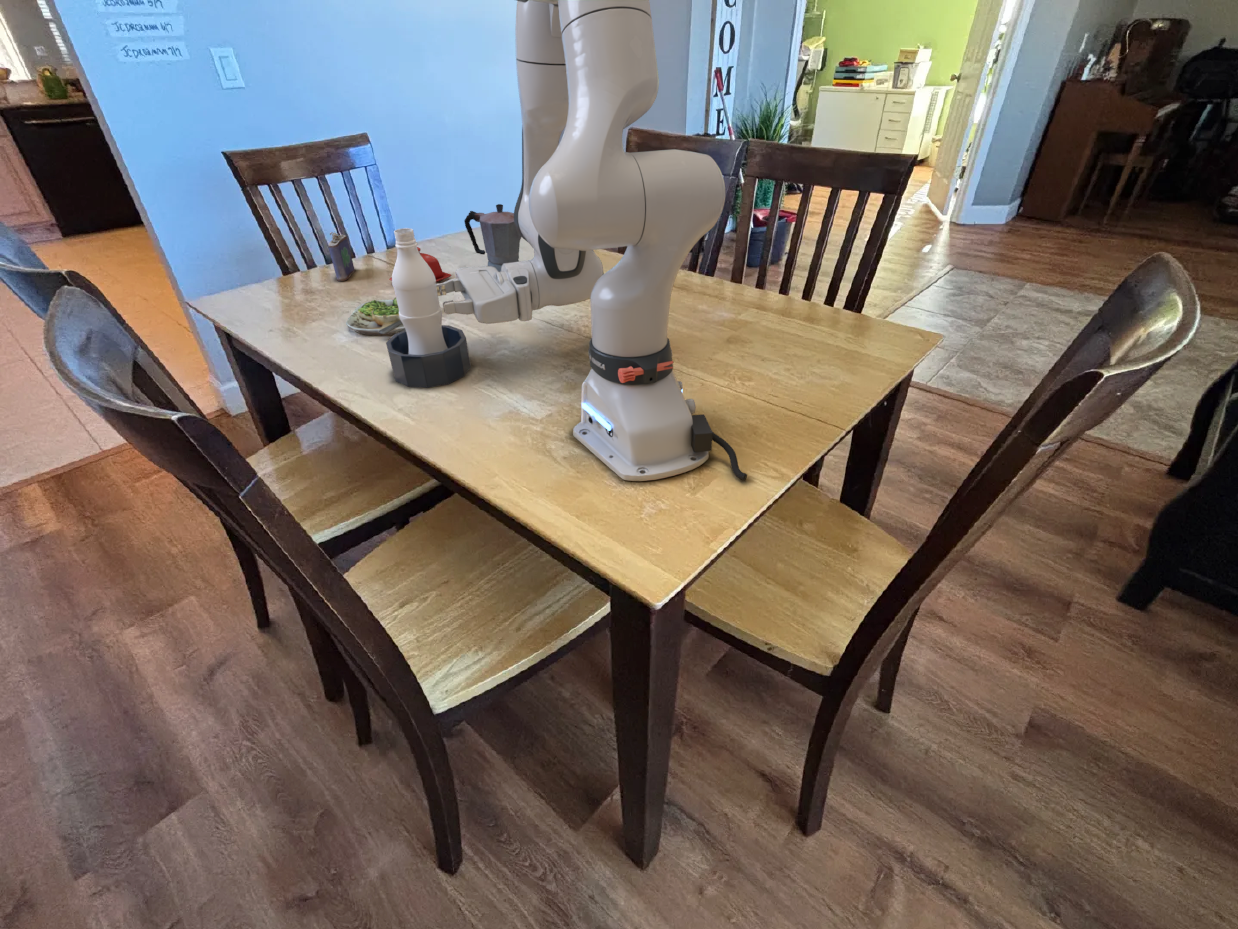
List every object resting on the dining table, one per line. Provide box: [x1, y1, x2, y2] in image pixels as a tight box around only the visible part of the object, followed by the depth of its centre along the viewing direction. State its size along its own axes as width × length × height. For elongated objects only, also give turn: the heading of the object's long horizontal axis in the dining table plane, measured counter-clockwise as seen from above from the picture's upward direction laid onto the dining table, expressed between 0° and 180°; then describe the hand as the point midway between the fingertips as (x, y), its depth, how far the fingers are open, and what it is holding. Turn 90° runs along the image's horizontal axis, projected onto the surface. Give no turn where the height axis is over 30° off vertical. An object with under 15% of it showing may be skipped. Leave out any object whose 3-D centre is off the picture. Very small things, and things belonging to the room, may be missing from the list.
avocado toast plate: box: [345, 297, 405, 336], centre depth 132 cm, size 19×18×5 cm
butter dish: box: [388, 246, 452, 284], centre depth 152 cm, size 12×12×8 cm
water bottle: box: [391, 227, 448, 355], centre depth 108 cm, size 7×7×25 cm
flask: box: [327, 231, 356, 282], centre depth 156 cm, size 9×3×11 cm, turn 2°
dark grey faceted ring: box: [385, 324, 472, 389], centre depth 114 cm, size 14×14×6 cm
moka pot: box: [463, 203, 522, 272], centre depth 142 cm, size 10×15×20 cm, turn 78°
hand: (439, 298), depth 109 cm, fingers open, 8 cm apart
